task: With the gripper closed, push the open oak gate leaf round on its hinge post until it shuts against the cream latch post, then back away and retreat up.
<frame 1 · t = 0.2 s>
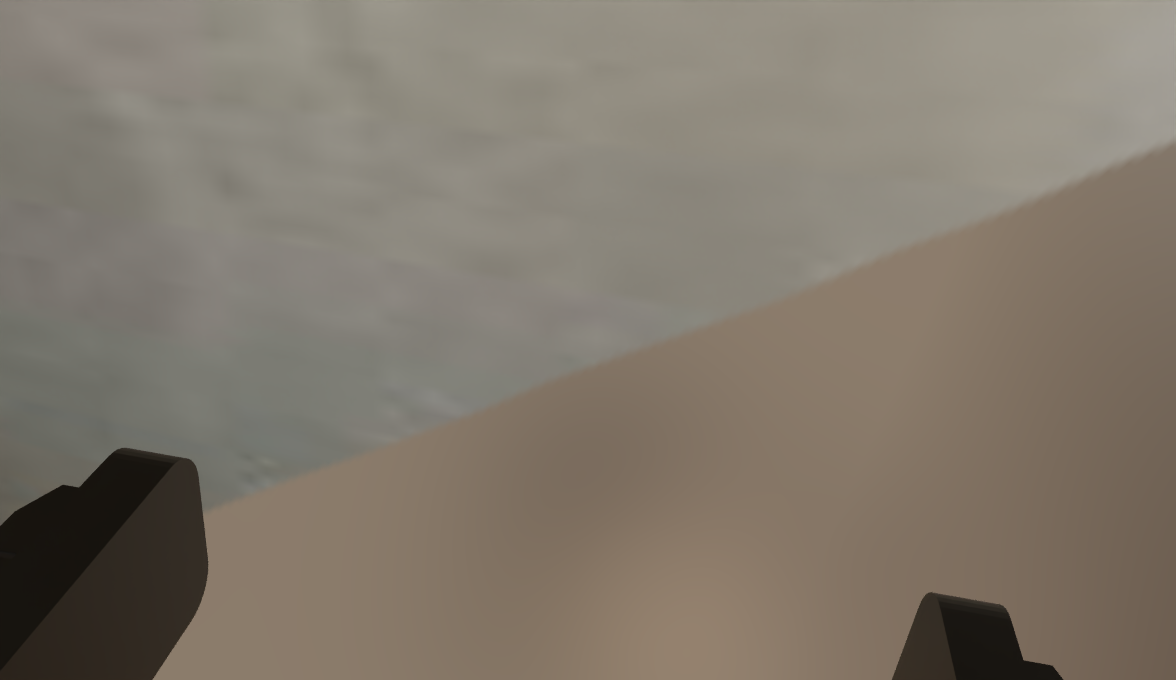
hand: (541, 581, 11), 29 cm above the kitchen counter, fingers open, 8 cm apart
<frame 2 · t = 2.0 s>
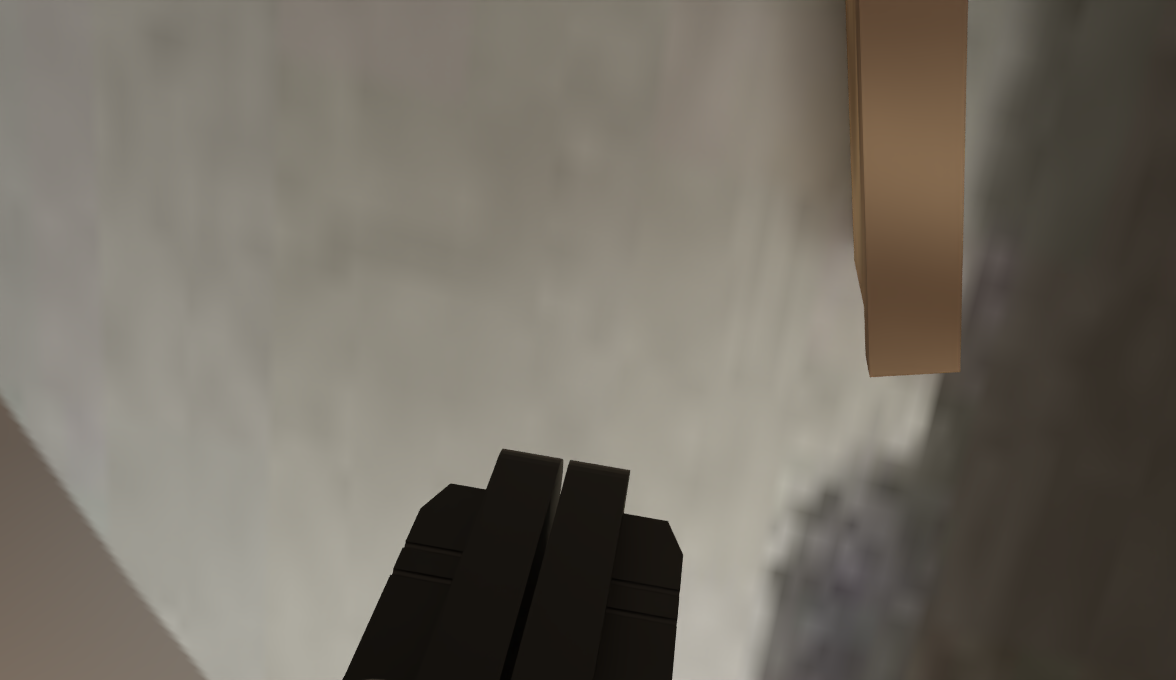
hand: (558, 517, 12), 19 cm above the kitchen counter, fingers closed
gate: (893, 1, 22), point 4 cm above the kitchen counter, hinge at 65.0°
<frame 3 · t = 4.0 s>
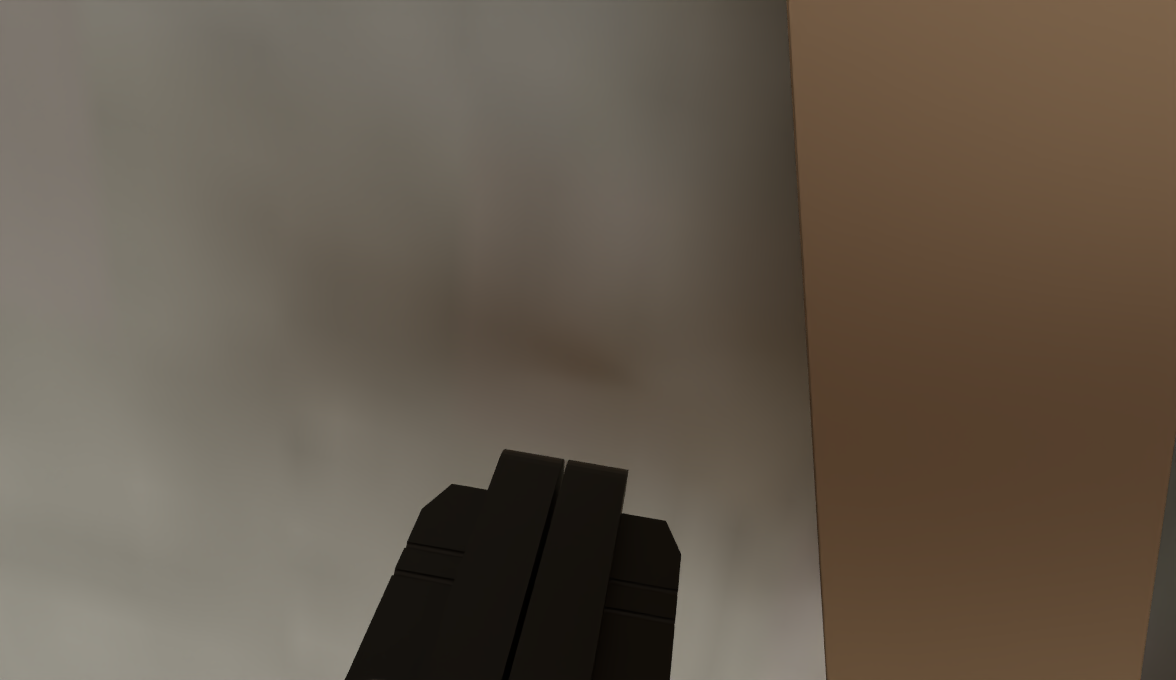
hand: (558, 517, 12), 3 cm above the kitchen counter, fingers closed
gate: (915, 275, 9), point 4 cm above the kitchen counter, hinge at 64.8°, touching gripper
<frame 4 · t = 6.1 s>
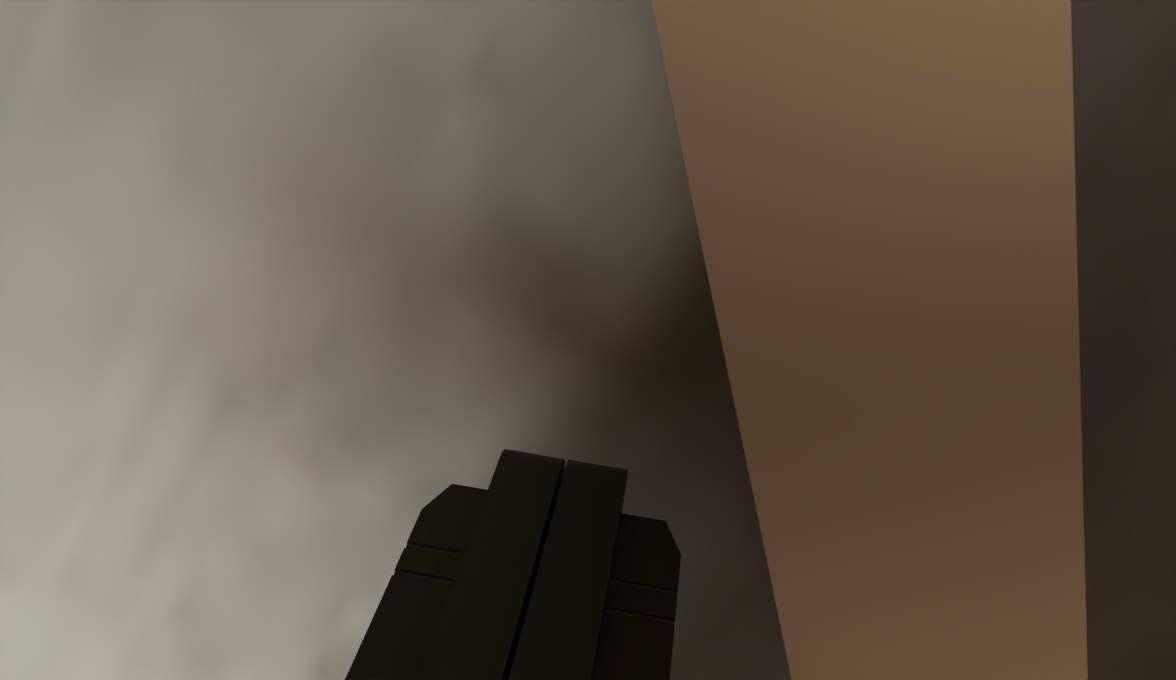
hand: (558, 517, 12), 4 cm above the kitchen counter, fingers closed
gate: (865, 249, 9), point 4 cm above the kitchen counter, hinge at 32.4°, touching gripper
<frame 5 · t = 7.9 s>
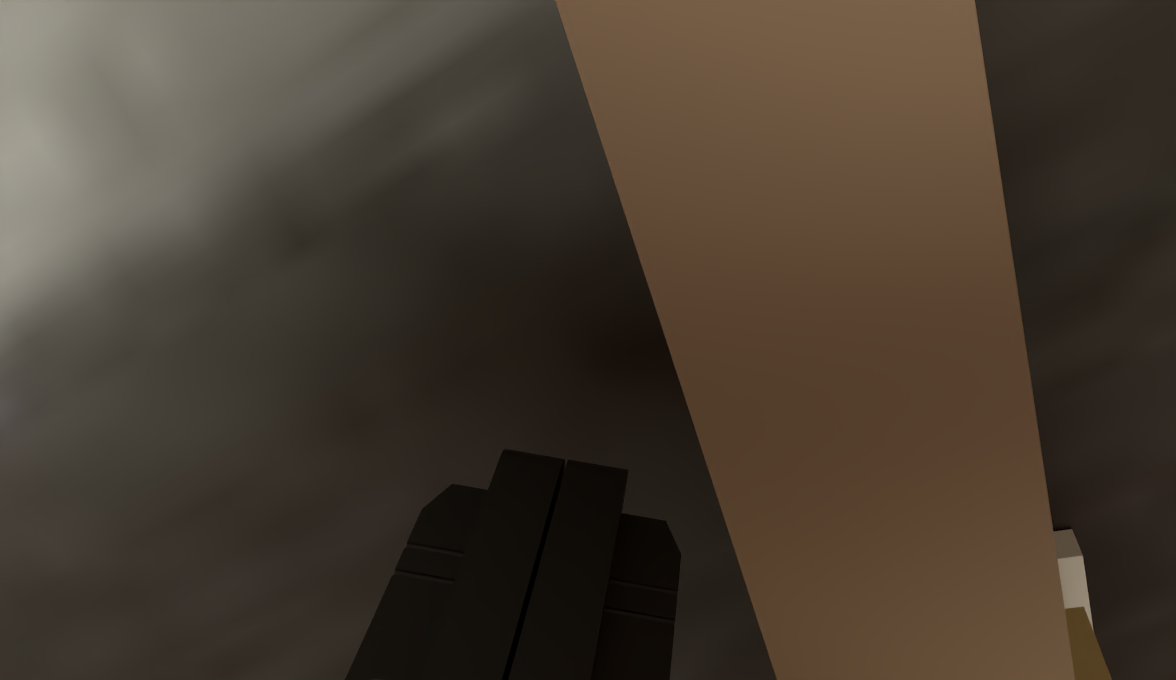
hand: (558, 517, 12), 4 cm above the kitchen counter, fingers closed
gate: (836, 246, 9), point 4 cm above the kitchen counter, hinge at 0.4°, touching gripper, latch post
latch post: (945, 650, 17), on the kitchen counter
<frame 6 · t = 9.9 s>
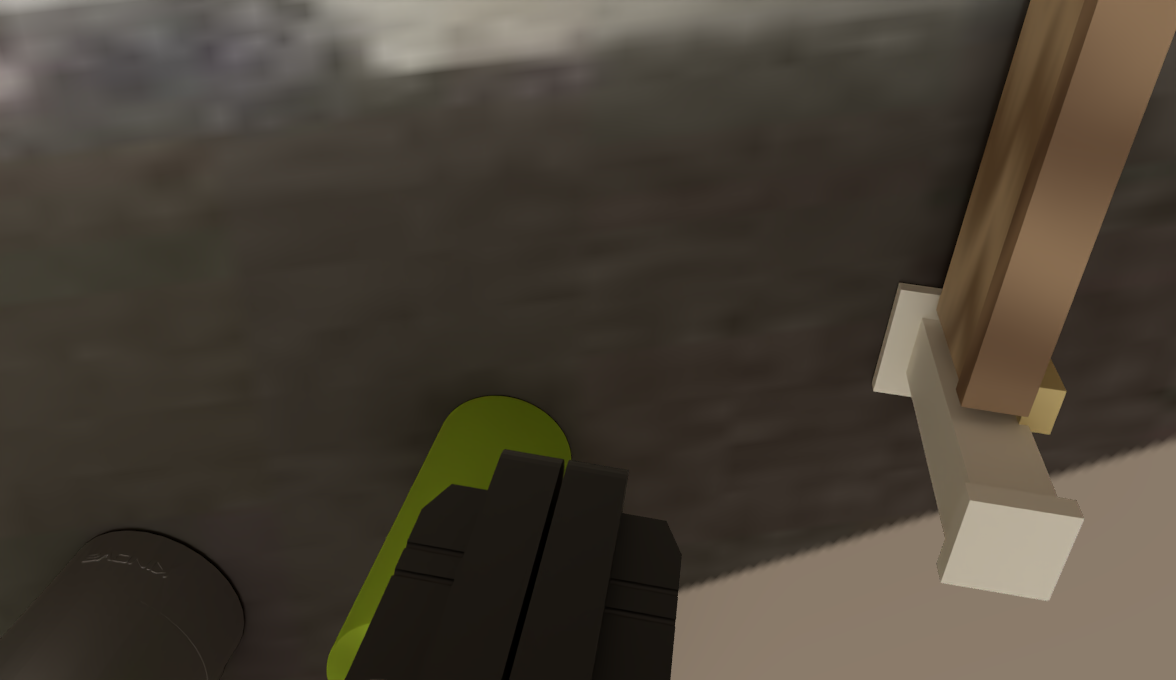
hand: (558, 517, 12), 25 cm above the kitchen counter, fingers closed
gate: (1051, 132, 29), point 4 cm above the kitchen counter, hinge at 0.4°, touching latch post
latch post: (944, 342, 38), on the kitchen counter
soap dispenser: (495, 443, 44), on the kitchen counter
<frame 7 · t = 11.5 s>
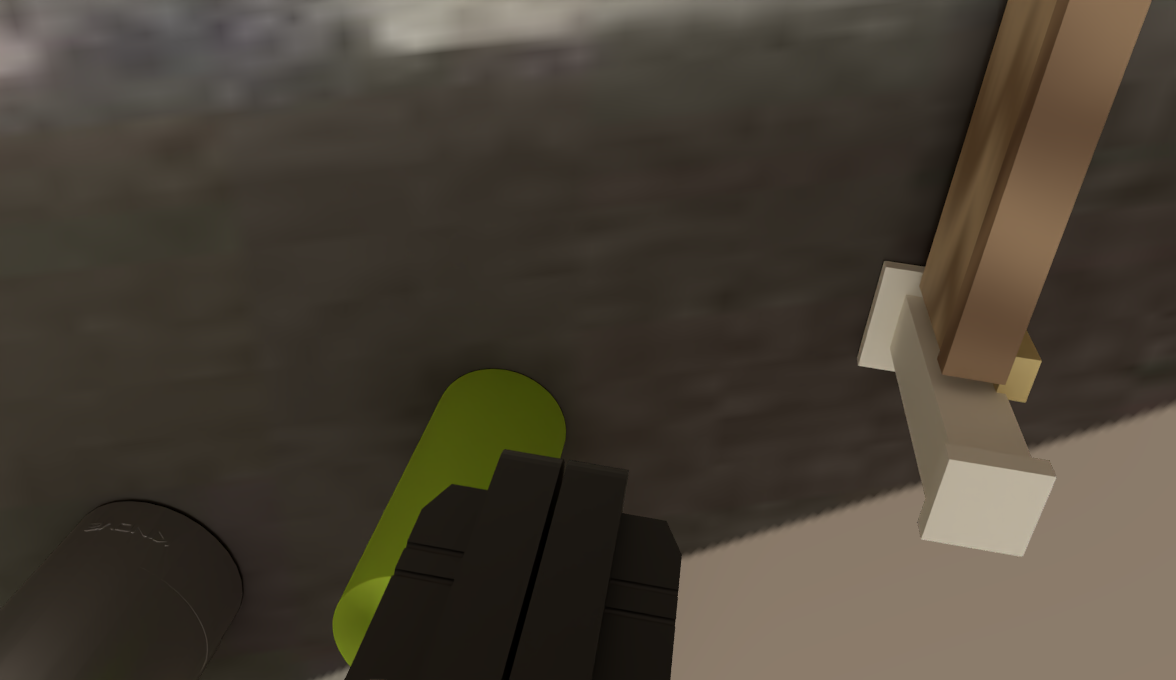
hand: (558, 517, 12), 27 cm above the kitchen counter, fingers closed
gate: (1029, 114, 31), point 4 cm above the kitchen counter, hinge at 0.4°, touching latch post
latch post: (926, 319, 39), on the kitchen counter
soap dispenser: (492, 416, 45), on the kitchen counter
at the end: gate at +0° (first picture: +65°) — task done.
